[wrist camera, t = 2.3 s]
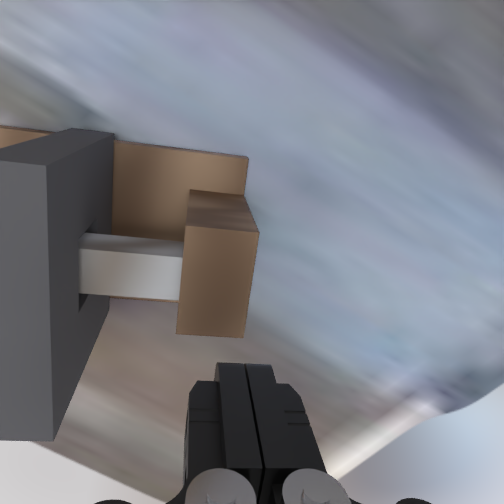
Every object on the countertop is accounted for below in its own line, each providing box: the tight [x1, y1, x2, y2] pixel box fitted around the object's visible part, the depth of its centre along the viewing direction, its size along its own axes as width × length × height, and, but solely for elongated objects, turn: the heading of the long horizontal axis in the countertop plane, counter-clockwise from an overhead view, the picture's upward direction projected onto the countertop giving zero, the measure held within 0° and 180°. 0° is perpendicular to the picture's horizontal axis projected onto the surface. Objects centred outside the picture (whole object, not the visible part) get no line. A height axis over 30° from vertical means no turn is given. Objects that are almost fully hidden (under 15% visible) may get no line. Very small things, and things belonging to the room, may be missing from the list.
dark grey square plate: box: [0, 128, 114, 441], centre depth 18 cm, size 2×10×10 cm, turn 172°
